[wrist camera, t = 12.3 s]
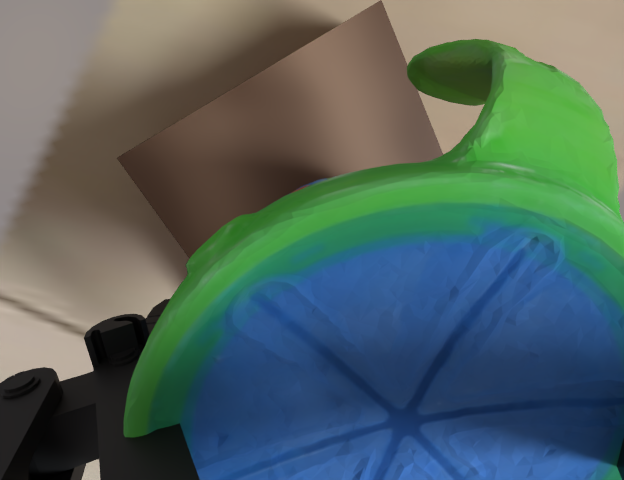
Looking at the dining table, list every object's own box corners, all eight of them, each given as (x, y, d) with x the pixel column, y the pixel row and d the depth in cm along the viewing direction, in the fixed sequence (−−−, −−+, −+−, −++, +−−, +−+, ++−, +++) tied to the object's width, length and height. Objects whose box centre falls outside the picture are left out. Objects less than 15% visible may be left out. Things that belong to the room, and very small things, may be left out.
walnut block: (300, 361, 25) (303, 416, 21) (156, 150, 20) (116, 158, 15) (464, 278, 24) (507, 316, 19) (356, 31, 19) (381, 0, 14)
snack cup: (358, 418, 19) (436, 720, 9) (168, 355, 17) (14, 663, 7) (526, 150, 15) (956, 195, 5) (307, 25, 13) (377, -266, 3)
